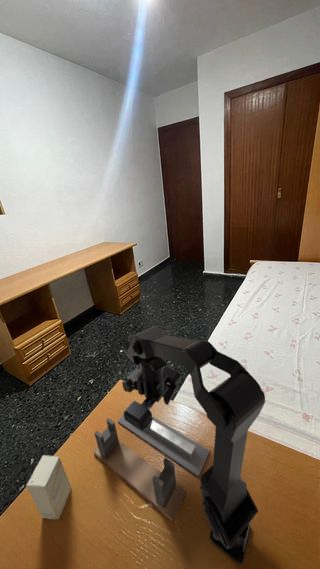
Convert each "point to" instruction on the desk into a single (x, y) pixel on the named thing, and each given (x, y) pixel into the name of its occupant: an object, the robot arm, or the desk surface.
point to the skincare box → (49, 487)
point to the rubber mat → (190, 465)
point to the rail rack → (140, 472)
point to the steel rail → (172, 440)
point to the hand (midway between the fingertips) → (157, 416)
